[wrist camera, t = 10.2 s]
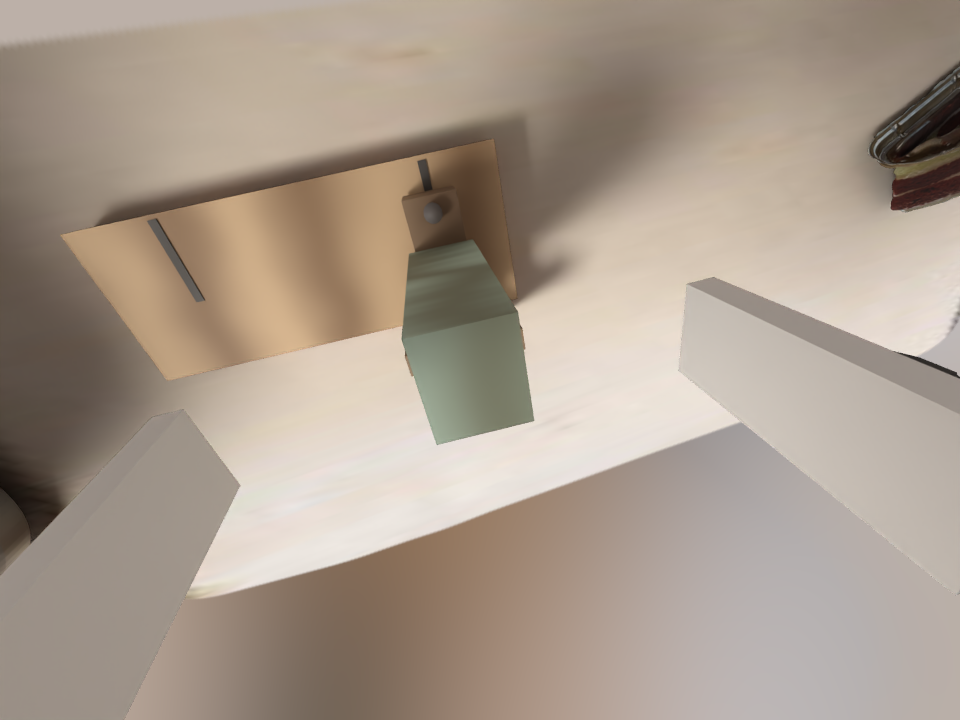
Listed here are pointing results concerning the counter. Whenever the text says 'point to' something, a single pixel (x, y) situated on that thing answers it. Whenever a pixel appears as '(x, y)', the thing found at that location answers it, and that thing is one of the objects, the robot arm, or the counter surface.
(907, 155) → the chocolate cake
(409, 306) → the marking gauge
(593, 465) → the counter surface
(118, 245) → the oak board
